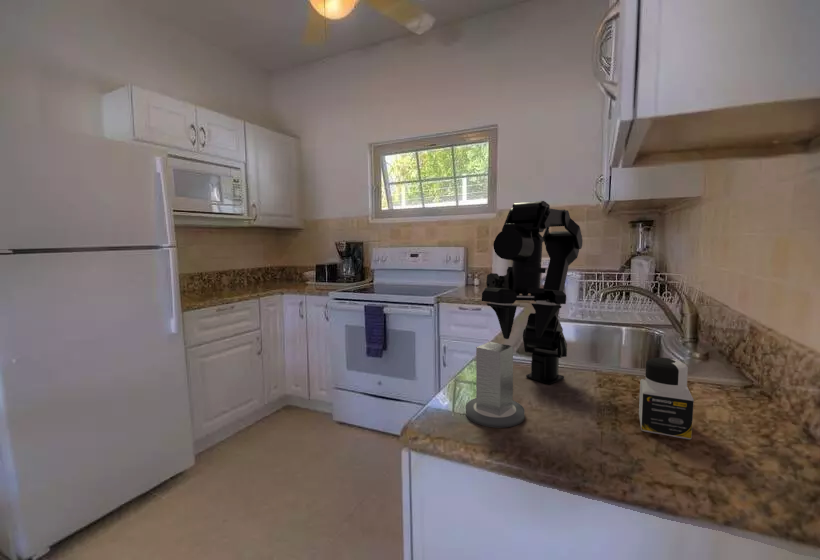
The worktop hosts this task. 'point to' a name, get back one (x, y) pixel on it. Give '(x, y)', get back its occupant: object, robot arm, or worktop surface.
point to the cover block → (494, 378)
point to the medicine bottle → (666, 399)
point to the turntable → (495, 416)
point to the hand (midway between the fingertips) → (522, 337)
